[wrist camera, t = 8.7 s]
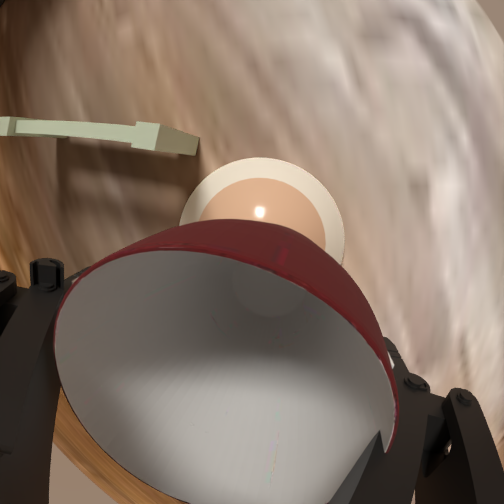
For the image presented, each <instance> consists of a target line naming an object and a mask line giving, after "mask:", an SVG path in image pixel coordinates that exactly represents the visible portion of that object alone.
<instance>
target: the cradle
mask: <svg viewBox="0 0 504 504" xmlns="http://www.w3.org/2000/svg"><path fill="white" fill-rule="evenodd" d="M0 136H32V137H53V138H67V136H75V137H86V138H96V139H105V140H114V141H122V142H130V143H132V145H131V147H134V148H141V149H147V150H154V151H162V152H171V153H178V154H186V155H193V156H195V155H196V151H197V146H198V141H199V137H197V136H194V135H191V134H188V133H185V132H182V131H179V130H176V129H174V128H171V127H168V126H164V125H161V124H156V123H147V122H138V121H136V126H126V125H116V124H105V123H91V122H75V121H50V120H41V119H31V118H21V117H0Z"/></svg>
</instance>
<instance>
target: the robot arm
mask: <svg viewBox="0 0 504 504" xmlns="http://www.w3.org/2000/svg"><path fill="white" fill-rule="evenodd" d="M3 2H4V0H0V6H1V4H2V3H3ZM90 267H91V266H90ZM90 267H87V268H85V269H83V270H81V271H80V272H78V273H76V274H74V275H72V276H70V277H68V278H67V279H65V280H64V264H63V263H62V262H61V261H59V260H56V259H52V258H42V259H37V260H34V261H32V262H31V263H30V281H31V286H30V287H29V289H27V288H22V287H18V286H17V284H16V276H15V275H14V274H13V273H11V272H7V271H5V270H2V271H1V270H0V504H49V477H50V462H51V451H52V441H53V432H54V425H55V418H56V411H57V405H58V399H59V393H60V388H61V384H60V381H59V378H58V374H57V370H56V365H55V359H54V349H53V335H54V326H55V320H56V316H57V313H58V310H59V307H60V304H61V302H62V300H63V298H64V296H65V294H66V293H67V291H68V290H69V288H70V287H71V285H72V284H73V283H74V282H75V281H76V280H77V279H78V277H79V276H80V275H81V274H83V273H84V272H85V271H86V270H87V269H89V268H90ZM383 338H384V341H385V344H386V348H387V351H388V355H389V358H390V362H391V366H392V369H393V373H394V377H395V381H396V385H397V389H398V398H399V422H398V427H397V432H396V436H395V439H394V441H393V444H392V447H391V449H390V450H389V452H388V453H384V448H383V443H382V438H381V433H380V430H379V431H378V432H377V433H376V435H375V436H374V437H373V439H372V440H371V441H370V443H369V444H368V446H367V447H366V448H365V450H364V451H363V453H362V454H361V456H360V457H359V459H358V460H357V462H356V463H355V465H354V466H353V468H352V469H351V471H350V472H349V473H348V475H347V476H346V478H345V479H344V481H343V482H342V484H341V485H340V487H339V488H338V490H337V491H336V493H335V494H334V496H333V497H332V499H331V500H330V501H329V503H328V504H411V501H412V498H413V494H414V490H415V504H504V471H503V468H502V464H501V461H500V458H499V455H498V452H497V449H496V446H495V443H494V441H493V438H492V435H491V432H490V430H489V427H488V425H487V422H486V419H485V417H484V414H483V412H482V410H481V407H480V405H479V402H478V401H477V399H476V397H475V396H474V395H472V393H471V392H468V390H466V389H461V388H453V389H451V390H450V392H449V393H448V395H447V397H446V398H444V397H441V396H438V395H435V394H431V393H430V386H429V385H428V383H427V382H426V381H425V380H424V379H423V378H421V377H420V376H418V375H416V374H413V373H409V371H408V369H407V367H406V365H405V363H404V361H403V360H402V359H401V356H400V354H399V353H398V350H397V348H396V347H395V345H394V344H393V343H392V342H391V341H390V340H389V339H388V338H387V337H383ZM450 445H451V450H450V452H448V447H449V446H450Z"/></svg>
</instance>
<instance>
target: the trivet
mask: <svg viewBox="0 0 504 504" xmlns="http://www.w3.org/2000/svg"><path fill="white" fill-rule="evenodd" d="M213 219H243V220H254V221H261V222H267V223H273V224H278V225H281V226H285V227H288V228H290V229H293V230H295V231H297V232H299V233H301V234H303V235H304V236H306V237H307V238H309V239H310V240H312V241H313V242H314V243H315V244H317V245H318V246H319V247H320V248H322V249H323V250H324V251H325V252H326V253H328V254H329V255H330V256H331V257H333V258H334V259H335V260H336V261H337V262H338V263H339V264H340V265H341V262H342V258H343V254H344V244H345V240H344V228H343V222H342V219H341V216H340V213H339V210H338V208H337V206H336V204H335V202H334V200H333V198H332V197H331V195H330V194H329V192H328V191H327V190H326V188H325V187H324V186H323V185H322V184H321V183H320V182H319V181H318V180H317V179H316V178H315V177H313V176H312V175H311V174H310V173H308V172H306V171H305V170H303V169H302V168H300V167H298V166H295V165H293V164H291V163H288V162H285V161H282V160H277V159H271V158H249V159H243V160H239V161H235V162H232V163H229V164H227V165H225V166H222V167H221V168H219V169H217V170H215V171H214V172H212V173H211V174H210V175H209V176H207V177H206V178H205V179H204V180H203V181H202V182H201V183H200V184H199V185H198V186H197V187H196V188H195V190H194V191H193V193H192V194H191V195H190V197H189V199H188V201H187V203H186V205H185V207H184V210H183V212H182V215H181V220H180V224H179V226H181V225H185V224H189V223H193V222H198V221H205V220H213Z"/></svg>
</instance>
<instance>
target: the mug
mask: <svg viewBox="0 0 504 504" xmlns="http://www.w3.org/2000/svg"><path fill="white" fill-rule="evenodd" d="M53 349H54V359H55V365H56V370H57V374H58V378H59V381H60V384H61V387H62V389H63V392H64V394H65V396H66V399H67V401H68V403H69V405H70V406H71V408H72V410H73V412H74V414H75V415H76V417H77V418H78V420H79V422H80V423H81V424H82V426H83V427H84V429H85V430H86V431H87V433H88V434H89V435H90V436H91V437H92V439H93V440H94V441H95V442H96V443H97V444H98V445H99V446H100V448H101V449H102V450H103V451H104V452H105V453H106V454H107V455H109V456H110V457H111V458H112V459H113V460H114V461H115V462H116V463H118V464H119V465H120V466H121V467H122V468H124V469H125V470H126V471H128V472H129V473H130V474H132V475H133V476H135V477H136V478H138V479H139V480H141V481H142V482H144V483H145V484H147V485H149V486H151V487H152V488H154V489H156V490H158V491H160V492H162V493H164V494H166V495H168V496H170V497H173V498H175V499H177V500H180V501H182V502H185V503H188V504H328V503H329V501H330V500H331V499H332V497H333V496H334V494H335V493H336V491H337V490H338V488H339V487H340V485H341V484H342V482H343V481H344V479H345V478H346V476H347V475H348V473H349V472H350V471H351V469H352V468H353V466H354V465H355V463H356V462H357V460H358V459H359V457H360V456H361V454H362V453H363V451H364V450H365V448H366V447H367V446H368V444H369V443H370V441H371V440H372V439H373V437H374V436H375V435H376V433H377V432H378V431H379V430H380V433H381V438H382V443H383V448H384V453H388V452H389V450H390V449H391V447H392V444H393V441H394V439H395V436H396V432H397V427H398V422H399V398H398V389H397V385H396V381H395V377H394V373H393V369H392V366H391V362H390V358H389V355H388V351H387V348H386V344H385V341H384V338H383V336H382V333H381V330H380V327H379V324H378V322H377V320H376V317H375V315H374V313H373V311H372V309H371V307H370V305H369V303H368V301H367V299H366V298H365V296H364V295H363V293H362V291H361V290H360V288H359V287H358V285H357V284H356V283H355V282H354V280H353V279H352V278H351V276H350V275H349V274H348V273H347V271H346V270H345V269H344V268H343V267H342V266H341V265H340V264H339V263H338V262H337V261H336V260H335V259H334V258H333V257H331V256H330V255H329V254H328V253H326V252H325V251H324V250H323V249H322V248H320V247H319V246H318V245H317V244H315V243H314V242H313V241H312V240H310V239H309V238H307V237H306V236H304V235H303V234H301V233H299V232H297V231H295V230H293V229H290V228H288V227H285V226H281V225H278V224H273V223H267V222H261V221H254V220H243V219H213V220H205V221H198V222H193V223H189V224H185V225H181V226H177V227H173V228H170V229H167V230H165V231H162V232H160V233H157V234H155V235H152V236H150V237H147V238H145V239H143V240H140V241H138V242H136V243H134V244H131V245H129V246H127V247H125V248H123V249H121V250H119V251H117V252H115V253H113V254H111V255H109V256H107V257H105V258H104V259H102V260H100V261H99V262H97V263H95V264H94V265H92V266H91V267H90V268H89V269H87V270H86V271H85V272H84V273H83V274H81V275H80V276H79V277H78V279H77V280H76V281H75V282H74V283H73V284H72V285H71V287H70V288H69V290H68V291H67V293H66V294H65V296H64V298H63V300H62V302H61V304H60V307H59V310H58V313H57V316H56V320H55V326H54V335H53Z"/></svg>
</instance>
